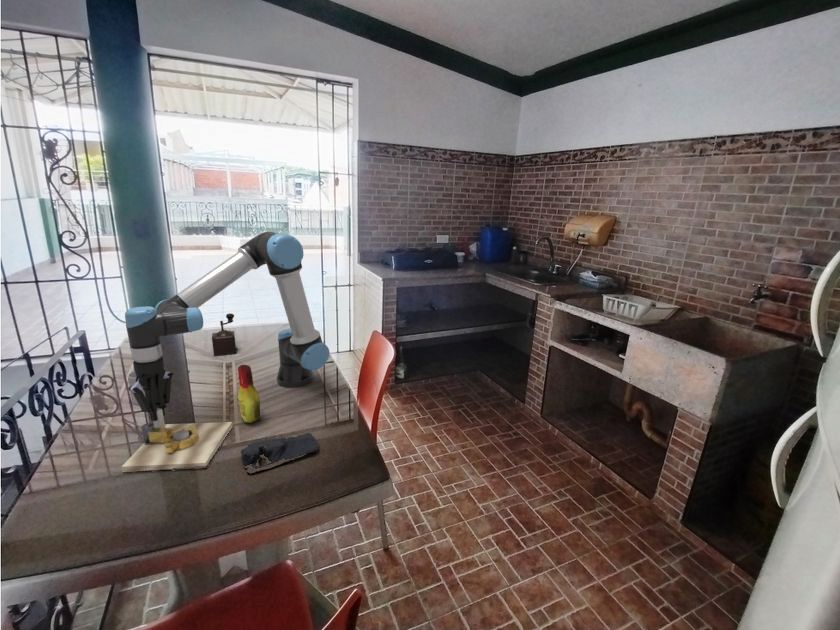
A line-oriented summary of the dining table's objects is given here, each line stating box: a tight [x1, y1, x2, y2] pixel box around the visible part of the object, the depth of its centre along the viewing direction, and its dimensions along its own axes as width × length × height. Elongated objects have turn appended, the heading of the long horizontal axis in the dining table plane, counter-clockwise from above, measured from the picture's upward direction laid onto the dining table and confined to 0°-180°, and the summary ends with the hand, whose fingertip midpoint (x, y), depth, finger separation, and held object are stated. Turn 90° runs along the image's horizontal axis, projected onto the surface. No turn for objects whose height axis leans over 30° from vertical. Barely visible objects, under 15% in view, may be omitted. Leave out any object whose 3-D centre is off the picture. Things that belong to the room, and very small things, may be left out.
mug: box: [127, 371, 146, 406], centre depth 149 cm, size 12×8×11 cm
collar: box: [140, 422, 199, 453], centre depth 119 cm, size 12×16×5 cm
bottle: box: [237, 364, 261, 424], centre depth 136 cm, size 12×6×20 cm, turn 34°
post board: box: [121, 421, 234, 473], centre depth 119 cm, size 22×22×5 cm
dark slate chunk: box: [240, 432, 319, 469], centre depth 119 cm, size 15×22×5 cm
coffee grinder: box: [211, 313, 238, 357], centre depth 199 cm, size 16×11×18 cm
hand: (159, 427), depth 123 cm, fingers closed
